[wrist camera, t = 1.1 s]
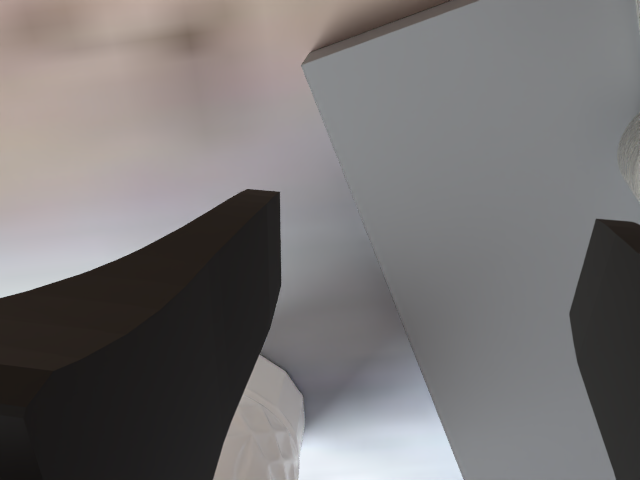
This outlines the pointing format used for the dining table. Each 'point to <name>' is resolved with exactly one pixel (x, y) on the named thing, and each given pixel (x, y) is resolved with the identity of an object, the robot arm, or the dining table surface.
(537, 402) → the dial board
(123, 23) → the dining table surface
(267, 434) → the white cup
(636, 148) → the peg lever
